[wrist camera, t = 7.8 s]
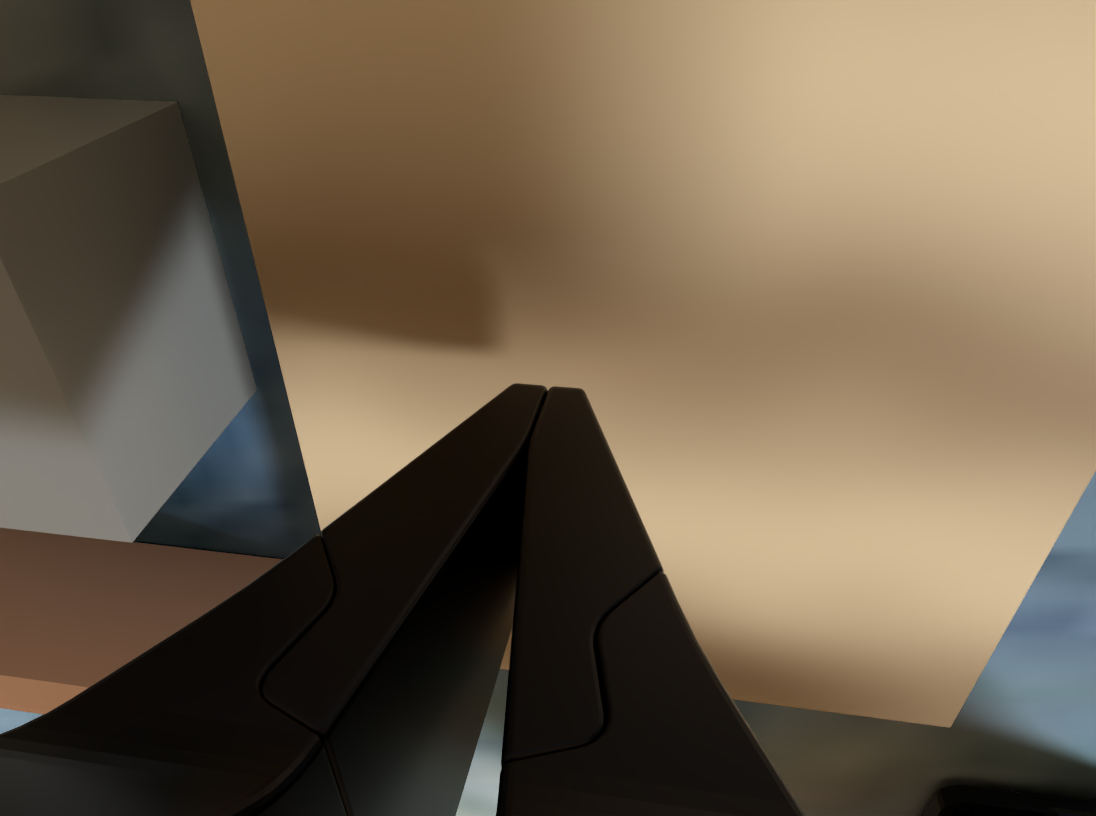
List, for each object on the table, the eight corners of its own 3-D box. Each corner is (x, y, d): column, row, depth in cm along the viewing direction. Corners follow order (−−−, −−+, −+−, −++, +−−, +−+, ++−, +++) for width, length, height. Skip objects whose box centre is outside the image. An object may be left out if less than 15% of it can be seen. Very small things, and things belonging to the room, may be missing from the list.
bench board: (921, 633, 15) (950, 727, 13) (383, 571, 16) (349, 649, 14) (1393, -381, 7) (1621, -460, 5) (214, -342, 8) (92, -396, 6)
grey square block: (260, 385, 14) (132, 542, 11) (14, 364, 14) (-178, 507, 11) (183, 99, 11) (-28, 197, 8) (-123, 87, 11) (-438, 172, 8)
